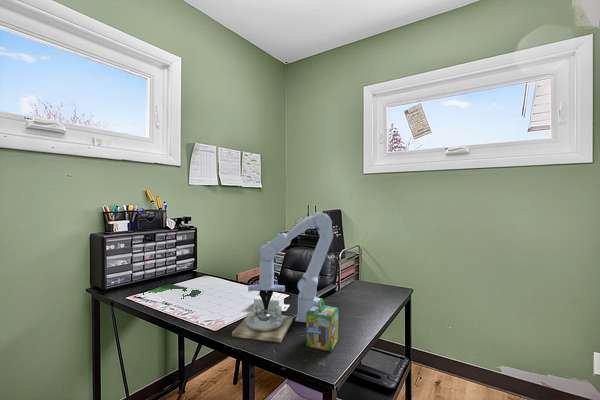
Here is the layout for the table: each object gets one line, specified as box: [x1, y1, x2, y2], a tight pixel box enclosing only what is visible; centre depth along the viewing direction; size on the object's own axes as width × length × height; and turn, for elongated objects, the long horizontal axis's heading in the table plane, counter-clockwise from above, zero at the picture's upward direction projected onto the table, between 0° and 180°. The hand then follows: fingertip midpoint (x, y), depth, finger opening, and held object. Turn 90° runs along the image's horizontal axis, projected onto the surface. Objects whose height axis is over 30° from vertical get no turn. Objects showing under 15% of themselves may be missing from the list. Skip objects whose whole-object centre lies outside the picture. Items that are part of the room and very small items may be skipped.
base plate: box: [231, 311, 294, 343], centre depth 108 cm, size 18×18×2 cm
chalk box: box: [305, 297, 339, 353], centre depth 97 cm, size 9×9×15 cm
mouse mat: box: [142, 283, 201, 305], centre depth 143 cm, size 27×22×1 cm
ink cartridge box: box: [253, 293, 290, 312], centre depth 128 cm, size 9×5×15 cm
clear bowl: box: [245, 304, 284, 332], centre depth 108 cm, size 14×14×5 cm
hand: (266, 308), depth 114 cm, fingers closed
